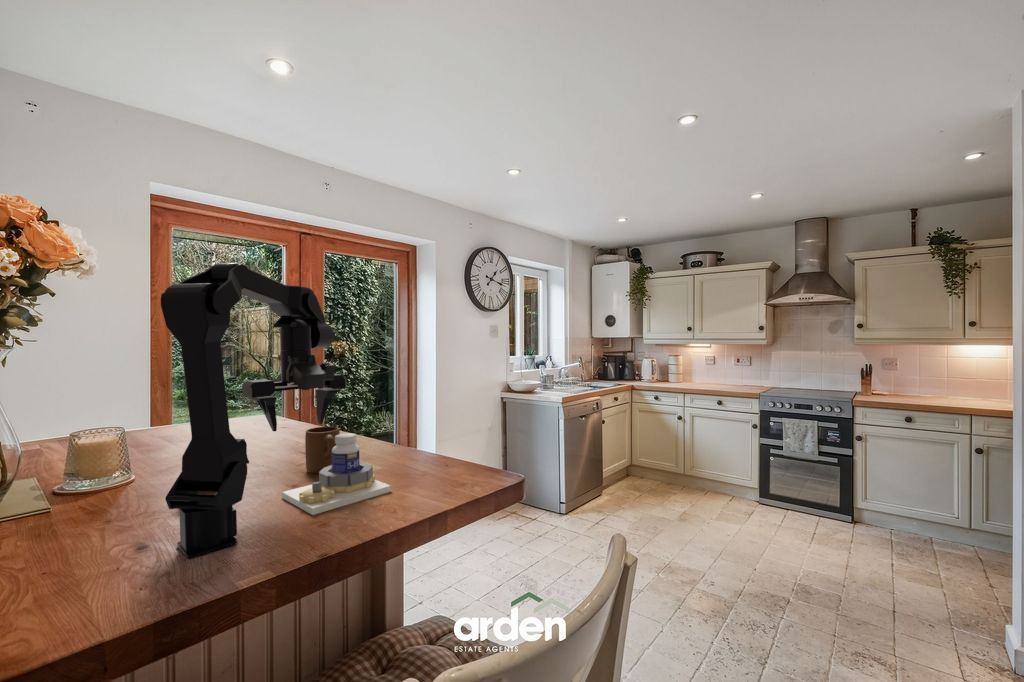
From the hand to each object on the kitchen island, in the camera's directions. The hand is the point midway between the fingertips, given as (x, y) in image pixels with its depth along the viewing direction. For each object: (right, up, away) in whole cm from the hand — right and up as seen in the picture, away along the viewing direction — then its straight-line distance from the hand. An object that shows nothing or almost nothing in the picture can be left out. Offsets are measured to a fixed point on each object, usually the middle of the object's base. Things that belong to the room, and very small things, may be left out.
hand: (298, 427), depth 96 cm
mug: (0, -13, +14) cm, 19 cm away
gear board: (+9, -13, -2) cm, 16 cm away
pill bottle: (+10, -11, 0) cm, 14 cm away
